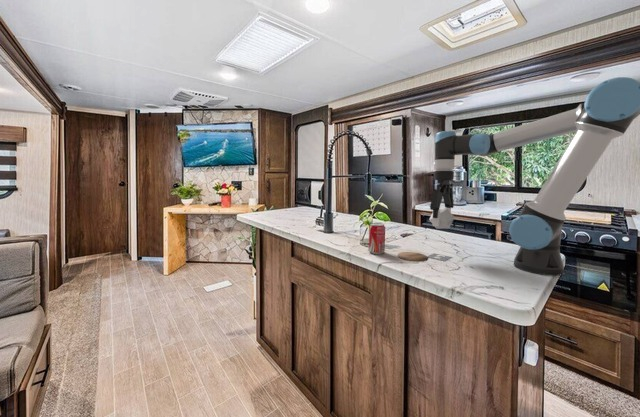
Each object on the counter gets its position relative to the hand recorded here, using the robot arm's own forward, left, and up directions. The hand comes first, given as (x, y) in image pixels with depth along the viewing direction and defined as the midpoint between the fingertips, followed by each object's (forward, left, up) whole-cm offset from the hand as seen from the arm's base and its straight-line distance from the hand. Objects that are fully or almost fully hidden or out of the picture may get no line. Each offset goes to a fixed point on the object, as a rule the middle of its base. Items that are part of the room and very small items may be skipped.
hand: (441, 224), depth 123 cm
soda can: (+23, +13, -14) cm, 30 cm away
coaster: (+8, +8, -14) cm, 18 cm away
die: (0, 0, -2) cm, 2 cm away
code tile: (0, 0, -14) cm, 14 cm away
